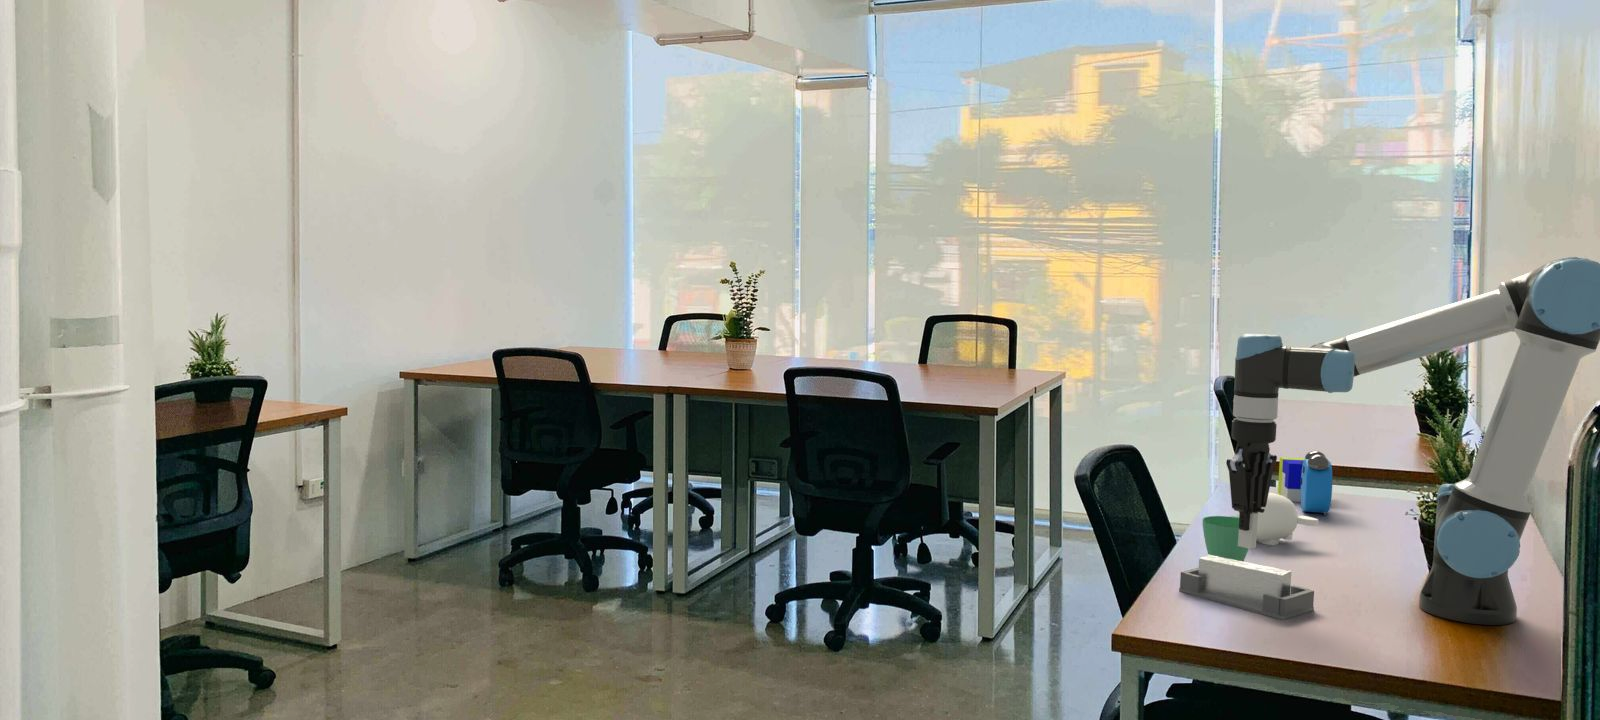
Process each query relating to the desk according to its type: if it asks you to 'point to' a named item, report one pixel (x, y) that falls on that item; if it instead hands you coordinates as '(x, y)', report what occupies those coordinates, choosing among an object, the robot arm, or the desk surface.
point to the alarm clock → (1316, 483)
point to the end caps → (1271, 606)
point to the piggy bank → (1279, 520)
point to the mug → (1223, 537)
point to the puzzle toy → (1290, 478)
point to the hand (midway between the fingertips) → (1246, 546)
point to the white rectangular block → (1242, 579)
